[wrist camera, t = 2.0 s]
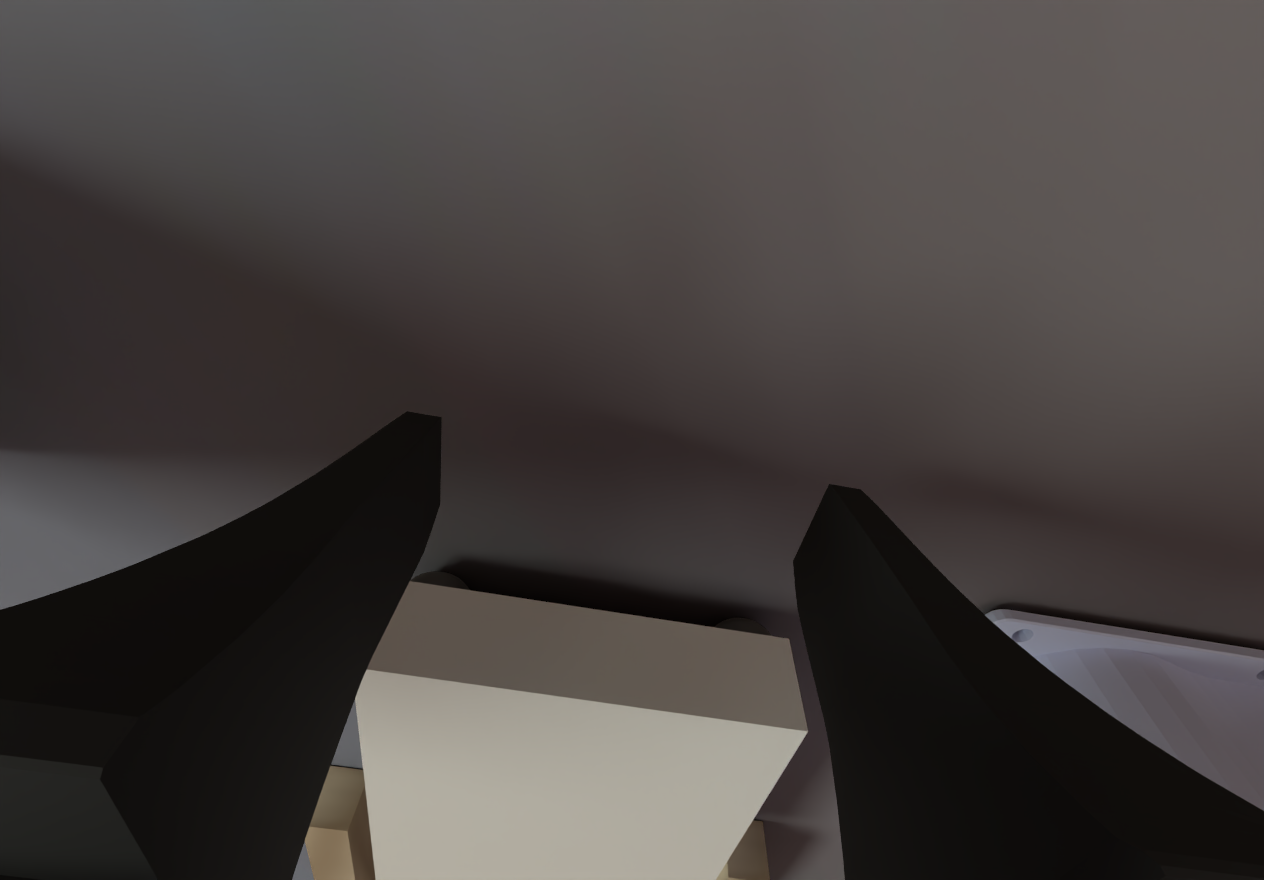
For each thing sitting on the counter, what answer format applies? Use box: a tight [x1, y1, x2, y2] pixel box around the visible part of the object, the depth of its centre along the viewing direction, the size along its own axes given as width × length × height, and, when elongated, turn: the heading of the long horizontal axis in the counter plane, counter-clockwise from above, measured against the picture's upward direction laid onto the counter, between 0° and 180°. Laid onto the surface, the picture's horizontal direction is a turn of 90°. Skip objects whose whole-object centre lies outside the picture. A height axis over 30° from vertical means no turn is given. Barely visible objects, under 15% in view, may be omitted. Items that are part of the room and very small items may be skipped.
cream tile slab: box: [355, 571, 808, 880], centre depth 18 cm, size 10×11×4 cm
